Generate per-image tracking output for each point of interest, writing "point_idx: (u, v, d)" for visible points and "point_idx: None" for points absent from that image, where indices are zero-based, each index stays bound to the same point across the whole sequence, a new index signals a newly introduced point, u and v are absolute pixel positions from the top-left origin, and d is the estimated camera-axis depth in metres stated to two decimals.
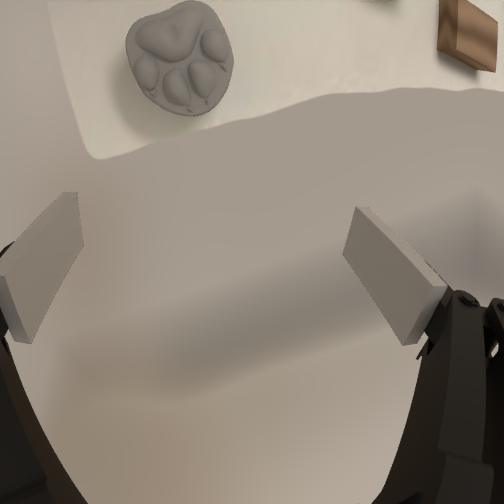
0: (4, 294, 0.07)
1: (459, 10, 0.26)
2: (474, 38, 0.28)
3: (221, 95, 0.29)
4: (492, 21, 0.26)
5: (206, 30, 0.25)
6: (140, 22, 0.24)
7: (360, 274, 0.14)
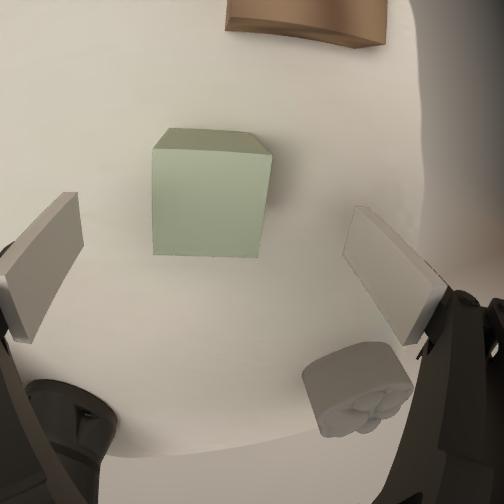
0: (4, 294, 0.07)
1: (280, 17, 0.14)
2: None
3: (407, 384, 0.31)
4: None
5: (352, 407, 0.31)
6: (325, 435, 0.34)
7: (360, 274, 0.14)
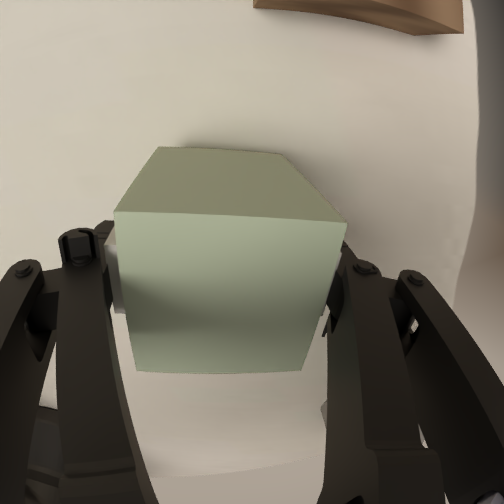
0: None
1: None
2: None
3: None
4: None
5: None
6: None
7: None
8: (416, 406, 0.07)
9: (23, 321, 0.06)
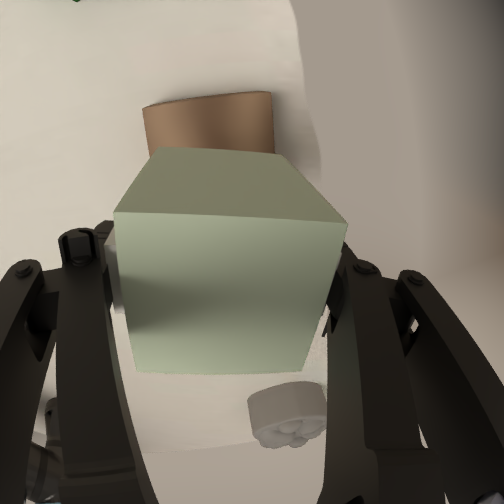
0: None
1: None
2: None
3: (323, 416, 0.43)
4: (153, 125, 0.22)
5: (278, 429, 0.43)
6: (264, 446, 0.46)
7: None
8: (416, 406, 0.07)
9: (23, 322, 0.06)
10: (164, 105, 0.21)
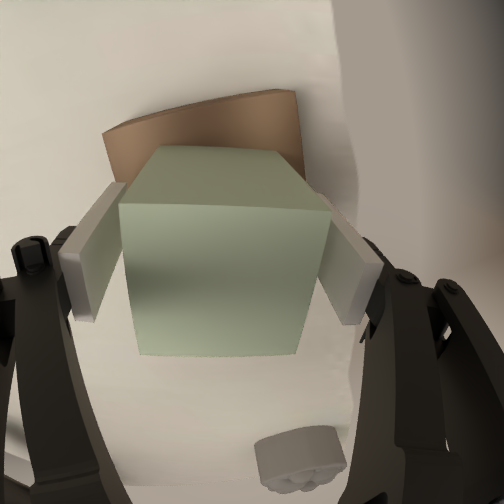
0: (74, 272, 0.08)
1: None
2: None
3: (338, 464, 0.36)
4: (121, 156, 0.15)
5: (289, 479, 0.35)
6: (272, 490, 0.39)
7: None
8: None
9: None
10: (133, 125, 0.14)
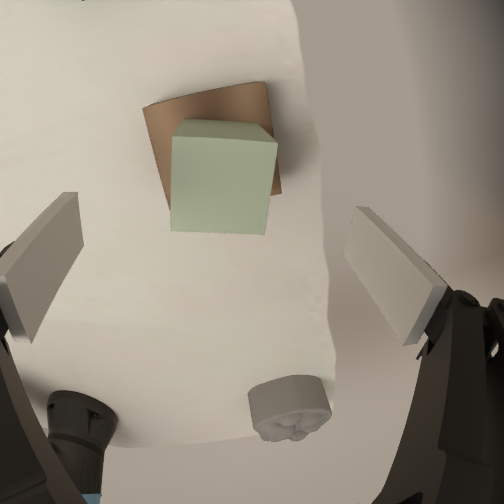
0: (4, 294, 0.07)
1: None
2: None
3: (323, 410, 0.44)
4: (154, 122, 0.23)
5: (278, 422, 0.44)
6: (264, 439, 0.47)
7: (360, 274, 0.14)
8: None
9: None
10: (163, 103, 0.22)
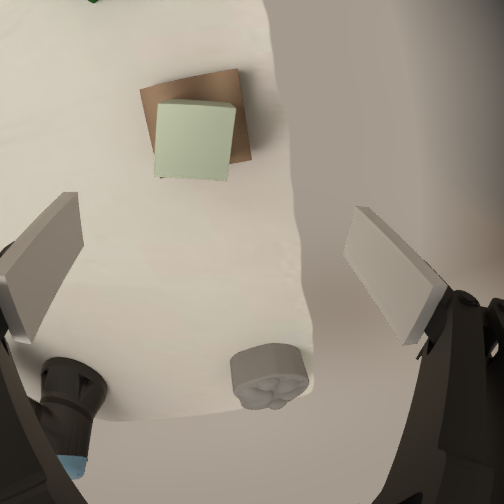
0: (4, 294, 0.07)
1: None
2: None
3: (300, 376, 0.49)
4: (149, 101, 0.28)
5: (257, 387, 0.49)
6: (245, 406, 0.52)
7: (360, 274, 0.14)
8: None
9: None
10: (156, 85, 0.27)
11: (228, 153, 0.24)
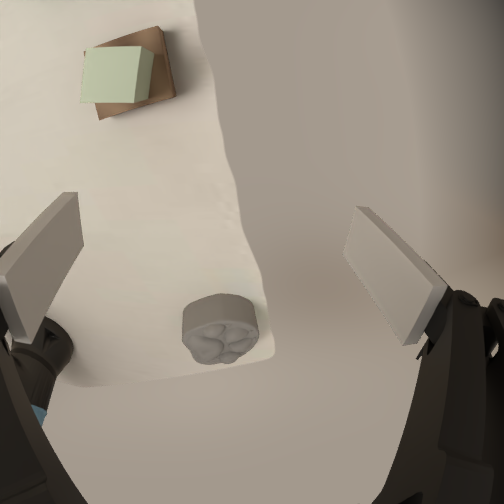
0: (4, 294, 0.07)
1: (118, 111, 0.34)
2: None
3: (247, 324, 0.51)
4: None
5: (204, 334, 0.50)
6: (197, 360, 0.54)
7: (360, 274, 0.14)
8: None
9: None
10: (96, 47, 0.29)
11: (134, 80, 0.26)
